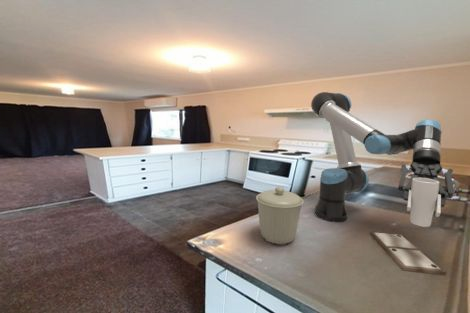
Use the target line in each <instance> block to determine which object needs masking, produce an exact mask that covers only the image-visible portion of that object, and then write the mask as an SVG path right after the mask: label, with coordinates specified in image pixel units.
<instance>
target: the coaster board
mask: <svg viewBox="0 0 470 313" xmlns="http://www.w3.org/2000/svg"><path fill="white" fill-rule="evenodd" d="M369 235H370V236H371V237H372V238H373V239H374V240H375V242H377V244H378V245H379V246H380V247H381V248H382V249H383V250H384V251H385V252H386V253H387V255H388V256H389V257H390V258H391V259H392V260H393V261H394V262H395V264H396V265H397V266H398V267H399V269H401V270H402V271H405V272H415V273H425V274H432V273H435V275H441V274H446V275H447V271H446V270H445V269H444V268H442V266H440V265H439V264H438V263H436V262H435V261H434V260H433V259H431V258H430V256H428V255H427V254H426V253H424V252H423V251H422V250H421V249H420V248H418V247H417V245H415V244H414V243H413V242H411V241H410V240H409V239H408V238H406V237H405V235H403V234H397V233H395V234H394V233H385V232H375V231H374V232H372V231H370V232H369Z"/></svg>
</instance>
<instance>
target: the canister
mask: <svg viewBox="0 0 470 313" xmlns="http://www.w3.org/2000/svg"><path fill="white" fill-rule="evenodd" d="M255 199H256V201H257V208H258V209H257V210H258V221H259V230H260V234H261V236H262V238H263V239H264V238H265V239H266V240H265V239H264V240H265V241H267V242H269V243H271V242H272V243H271V244H274V243H276V244H275V245H286V243H288V244H290V243H291V242H292V241H294V239H295V238H296V235H297V230H298V225H299V220H300V214H301V208H302V205H303V204H304V199H303V198H302V197H301V196H300V195H299V194H296V193H294V192H291V191H288V190H285V188H284V187H282V186H276V187H275V189H269V190H266V191H262V192H260V193H258V194H256V197H255ZM289 242H290V243H289Z"/></svg>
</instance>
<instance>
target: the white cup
mask: <svg viewBox="0 0 470 313" xmlns="http://www.w3.org/2000/svg"><path fill="white" fill-rule="evenodd" d="M439 181H440V180H439ZM439 181H437V180H433V179H430V178H426V177H419V178H413V179H412V184H411V194H412V197H411V208H410V214H409V215H410V217H409V221H410V222H411V223H412V224H413V225H415V226H418V227H423V228H429V227H431V226H432V220H433V216H434V211H435V210H436V201H437V197H438V193H439V183H441V181H440V182H439Z"/></svg>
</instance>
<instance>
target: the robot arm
mask: <svg viewBox="0 0 470 313" xmlns="http://www.w3.org/2000/svg"><path fill="white" fill-rule="evenodd" d="M310 106H311V110H312V112H313V113H314V114H315V115H317V116H318V117H320V118H322V119H325V121H326V122H327V123H329V125H330V130H331V135H332V139H333V145H334V149H335V155H336V158H337V162H338V163H337V164H338V165H337V167H333V168H326V169H323V170H322V172H321V174H320V177H319V178H320V179H319V182H320V184H319V199H318V201H317V203H316V205H315V208H314V215H315V214H316V215H317V216H318V218H319V217H320V218H319V219H321V218H322V219H321V220H325V221H327V220H328V221H327V222H333V221H335V223H340V222H341V221H342V222H345V221H347V220H348V216H349V214H348V211H347V207H346V202H345V201H346V195H347V194H352V193H359V192H361V191H364V190H365V189H366V188H367V186H368V185H369V182H370V178H369V175H368V173H367V172H366V171H365V170H364V169H362V168H363V167H362V165H361V163H358V161H357V158H356V154H355V150H354V145H353V140H352V137H353V138H354V139H356V140H357V141H358V142H360V143H361V144H362V145H364V148H365V150H366V151H367V153H369V154H371V155H372V154H373V155H385V154H386V155H387V156H392V155H398V154H400V153H404V152H408V151H412V161H411V164H408V165H406V164H404V163H403V164H401V167H400V170H401V175H400V178H399V184H398V187H397V190H399V191H402V192H403V193H404V194H403V201H405V202H407V203H406V204H407V206H406V211H407V212H411V197H412V194H411V184H412V179H413V178H427V179H433V180H437V181H439V182H440V183H439V193H438V197H437V201H436V205H435V217H437V218H440V215H441V214H442V213H441V211H442V210H441V209H442V208H444V207H445V206H446V198H447V199H452V198H453V196H454V195H455V192H454V191H455V190H454V185H453V179H452V178H453V177H452V175H453V172H454V170H453V169H452V168H448V169H447V168H446V169H445V168H443V167H442V166H441V151H442V150H441V142H442V141H441V140H442V139H441V138H442V137H441V136H442V128H441V124H440V122H438V121H437V120H434V119H424V120H420V121H418V122H417V123H416V125H415V126H414V129H411V130H409V131H406V132H403V133H402V132H401V133H399V134H385V133H383V132H382V131H379V130H378V129H377V128H375V127H373V126H372V125H370V124H369V123H366V122H365V121H363V120H361V119H360V118H359V117H357V116H355V115H353V114H351V113H350V111H351V108H352V101H351V98H350V97H349V96H348V95H346V94H344V93H340V92H339V93H338V92H337V93H336V92H329V91H327V92H326V91H322V92H319V93H317V94H315V95H314V96H313V98H312V100H311V103H310ZM409 170H411V171H412V172H413V175H412V177H411V178H410V179H409V180H408V182H407V184H406V185H405V181H406V180H405V179H406V177H407V176H406V175H407V172H409ZM440 173H441V174H442V176H443V177H444V184H445V189H444V187H443V185H442V183H441V180H440V178H439V176H438V175H439V174H440ZM316 215H315V216H316ZM317 216H316V217H317Z"/></svg>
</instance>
